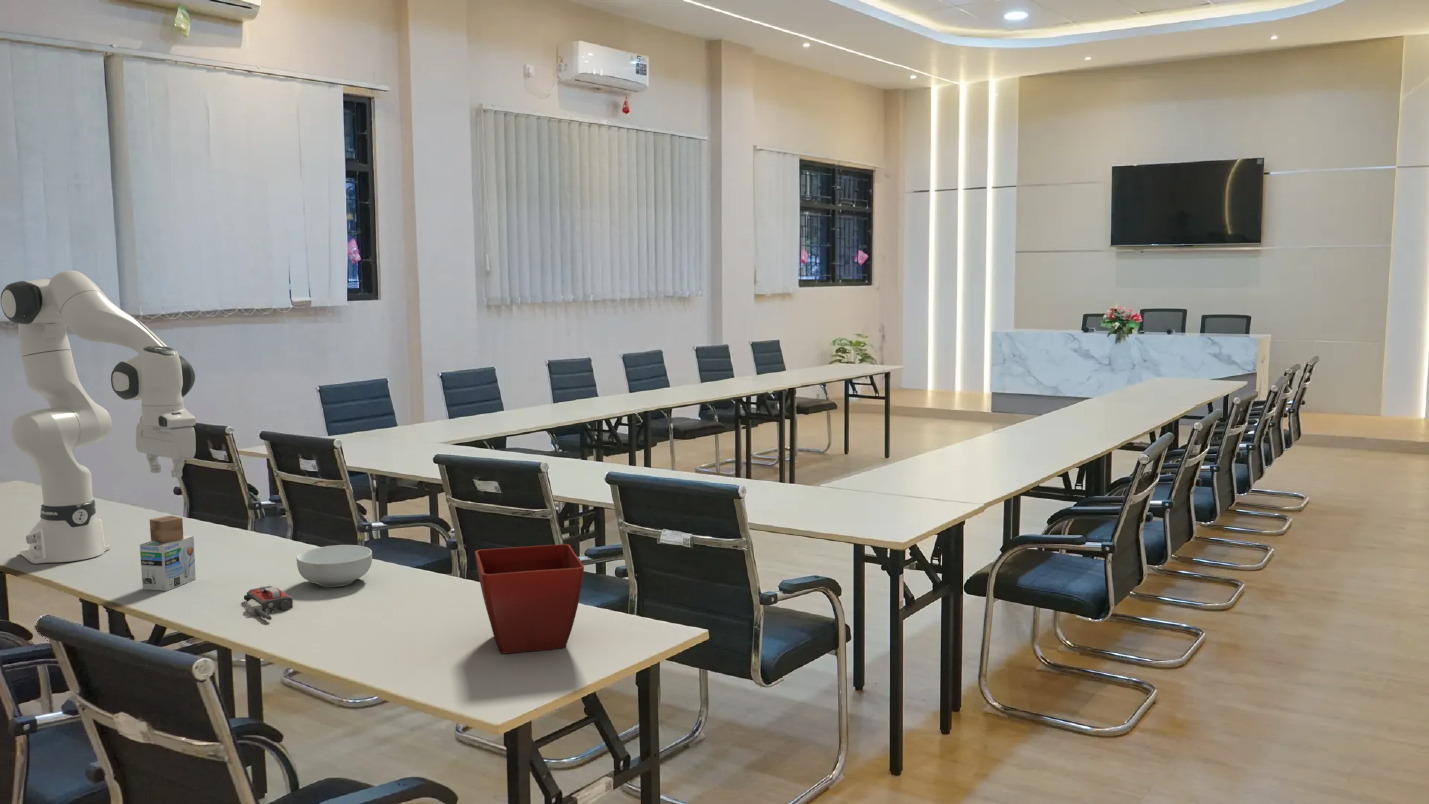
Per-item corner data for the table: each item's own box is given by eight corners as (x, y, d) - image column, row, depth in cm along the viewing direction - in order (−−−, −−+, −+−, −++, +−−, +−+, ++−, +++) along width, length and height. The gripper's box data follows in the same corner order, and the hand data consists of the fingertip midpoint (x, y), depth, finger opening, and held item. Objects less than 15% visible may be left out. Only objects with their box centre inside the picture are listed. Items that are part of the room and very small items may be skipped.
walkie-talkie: (234, 604, 240) (264, 626, 225) (233, 585, 240) (263, 605, 225) (274, 597, 246) (307, 617, 231) (274, 578, 245) (306, 597, 230)
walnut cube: (150, 540, 253) (149, 519, 253) (171, 536, 257) (170, 515, 257) (162, 543, 250) (161, 521, 250) (183, 538, 254) (182, 518, 254)
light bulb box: (166, 591, 249) (163, 545, 248) (140, 590, 250) (138, 544, 249) (197, 579, 259) (194, 535, 258) (172, 577, 261) (169, 533, 260)
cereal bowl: (281, 587, 252) (280, 557, 252) (335, 570, 267) (333, 542, 266) (336, 596, 245) (335, 565, 244) (388, 578, 260) (387, 549, 259)
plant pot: (586, 652, 207) (585, 566, 205) (484, 662, 202) (482, 574, 200) (570, 622, 225) (569, 543, 224) (476, 631, 220) (474, 549, 218)
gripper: (126, 413, 256) (129, 471, 257) (173, 421, 244) (175, 481, 246) (153, 411, 261) (156, 468, 263) (199, 418, 249) (202, 477, 251)
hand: (166, 474), depth 254 cm, fingers open, 8 cm apart
